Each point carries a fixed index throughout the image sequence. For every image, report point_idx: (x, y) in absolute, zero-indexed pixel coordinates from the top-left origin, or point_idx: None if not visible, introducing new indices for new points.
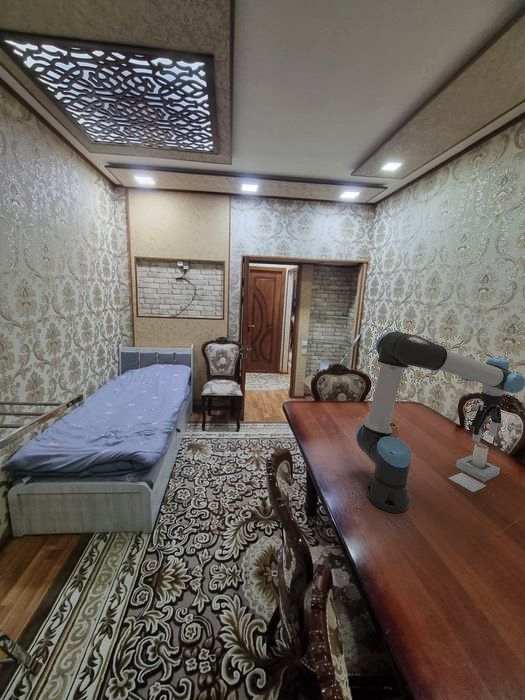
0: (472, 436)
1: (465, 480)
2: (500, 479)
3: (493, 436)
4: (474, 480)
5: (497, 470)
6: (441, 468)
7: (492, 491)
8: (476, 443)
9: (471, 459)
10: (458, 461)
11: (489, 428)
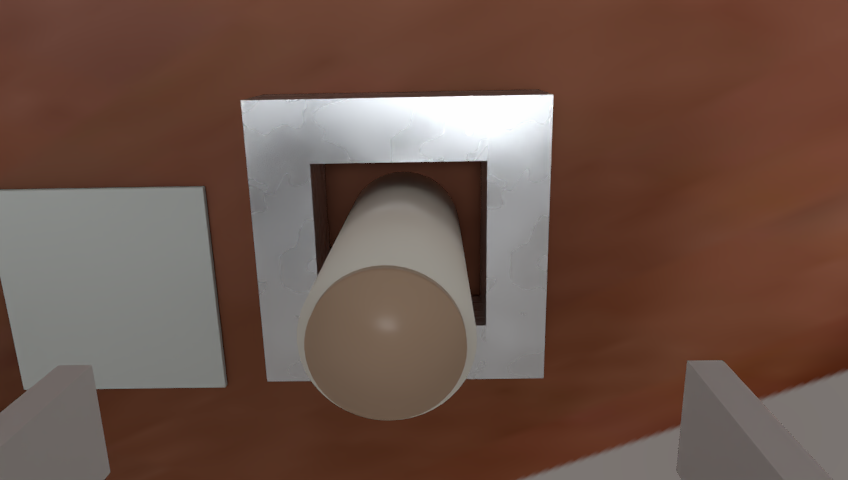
0: (11, 405)
1: (113, 278)
2: (469, 380)
3: (678, 453)
4: (198, 309)
5: (491, 373)
6: (79, 50)
7: (205, 435)
8: (359, 282)
9: (438, 159)
10: (242, 119)
11: (753, 451)
